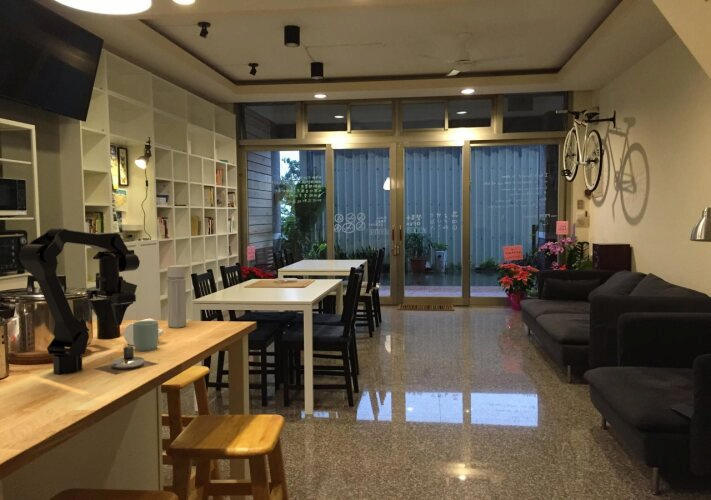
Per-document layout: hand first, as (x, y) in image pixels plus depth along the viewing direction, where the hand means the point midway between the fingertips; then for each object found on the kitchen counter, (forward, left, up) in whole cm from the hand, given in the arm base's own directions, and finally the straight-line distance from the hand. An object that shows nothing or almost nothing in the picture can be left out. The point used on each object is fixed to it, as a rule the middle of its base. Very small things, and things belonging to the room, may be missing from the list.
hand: (110, 323), depth 174 cm
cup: (+14, +2, -12) cm, 19 cm away
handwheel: (-3, -13, -11) cm, 17 cm away
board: (-3, -12, -12) cm, 18 cm away
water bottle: (+48, +29, -12) cm, 57 cm away
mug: (+23, +14, -12) cm, 30 cm away
